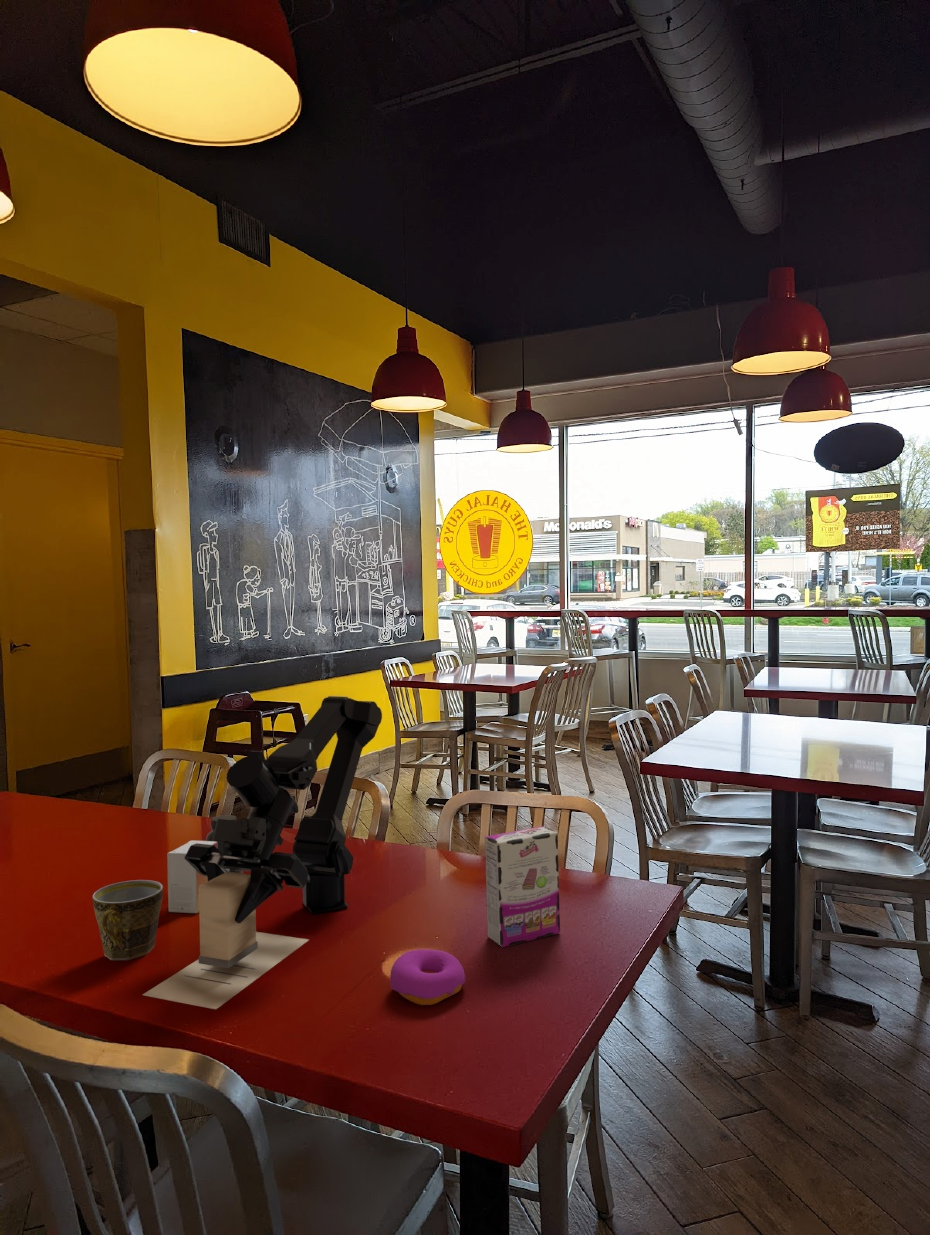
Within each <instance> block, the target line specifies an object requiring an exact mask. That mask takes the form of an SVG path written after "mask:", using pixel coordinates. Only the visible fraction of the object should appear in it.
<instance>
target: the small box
mask: <svg viewBox="0 0 930 1235" xmlns="http://www.w3.org/2000/svg"><path fill="white" fill-rule="evenodd" d="M196 843H198V844H208V845H215V847H216V848H217V849H218V842H214V841H206V840H189V841H188V842H186V843H185V844H183V845H180V846H178V847H177V848H175V849H173V850H172V851H169V852H167V856H166V857H167V898H168V899H167V900H168V901H167V903H168V904H167V905H168V906H167V907H168V913H181V914H182V913H185V914H198V913H199V886H200V885H202V884H204V883H206V882H208V877H207V876H203V875H201V874H199V873H198V872H197V871H196V870H195V869H194V868H193V867H192V866H191V865H190V864H189V863H188V862H187V861H186V859H185V858H184V857H185V855H186V853H187V851H188V849H189V848H190V846H191V845H193V844H196Z"/></svg>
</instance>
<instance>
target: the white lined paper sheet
mask: <svg viewBox="0 0 930 1235" xmlns="http://www.w3.org/2000/svg"><path fill="white" fill-rule="evenodd" d="M256 941H257V942H258V948H257V949H256V950H254V951H253V952H251V953H250V954H249V955H247V956H246V957H244V958H243V959H241V960H240V961H238V962H237V963H235V964H234V965H233V966H231V967H230V968H223V967H217V966H211V965H205V964H200V963H199V958H198V959H196V960H195V961H194V962H193V961H192V963H190V964H189V965H187V966H186V967H184V968H183V969H181V970H179V971H178V972H176V973H174V974H173V975H171V976H170V977H168V978H167V979H165V980H163V981H162V982H160V983H159V984H157V985H156V986H154V987H152V988H151V989H149V990H148V991H146V992H144V993H143V994H142V996H144V997H145V996H146V997H150V998H153V999H154V998H155V999H160V1000H166V1001H170V1002H175V1003H182V1004H187V1005H191V1006H196V1007H202V1008H207V1009H211V1010H217V1009H219V1008H220V1007H222V1006H223V1005H224V1004H225V1003H227V1002H228V1001H230V1000H231V999H233V997H234V996H237V994H239V993H240V992H241V991H243V990H244V989H246V988H247V987H248V986H250V985H251V984H252V983H254V982H255V981H256V980H258V979H259V978H260V977H262V976H263V975H264V974H266V973H267V972H268V971H269V970H271V969H273V968H274V967H275V966H277V964H279V963H281V962H282V961H284V959H286V958H287V957H288V956H290V955H291V954H292V953H294V952H296V951H297V950H298V949H299V948H301V947H302V946H303V945H304V944H306V943H307V942H309V941H310V939H309V938H308V939H307V938H301V937H293V936H288V935H287V936H286V935H281V934H274V933H269V932H268V933H267V932H259V931H256Z"/></svg>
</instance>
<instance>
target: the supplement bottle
mask: <svg viewBox="0 0 930 1235" xmlns="http://www.w3.org/2000/svg"><path fill="white" fill-rule="evenodd" d="M217 819H226V820H236V821H238V819H237V816H236V815H233V814H223V815H221V814H220V815H217V816H213V817H212V818H211V819H210V824H211V825H210V829H211V831H210V832H208V834H207V835H206V837H205V841H212V839H213V835H214V831H215V827H216V823H217ZM214 842H215V841H214ZM216 842H218V850H219V851H220V852H221V853H222V854H223V855H230V856H231V852H230V851H227V850H226V849H225V848H224V845H225V843H223V842H220V841H216ZM229 872H236V873H243V871H242V870H233V869H230V870H229Z"/></svg>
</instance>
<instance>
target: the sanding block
mask: <svg viewBox="0 0 930 1235" xmlns="http://www.w3.org/2000/svg"><path fill="white" fill-rule="evenodd" d="M250 875H251V873H244V872H242V873H236V872H226V873H224V874H222V875H220V876H218V877H216V878H214V879H212V880H210V881H208V882H206V883H204V884H202V885H200V886H199V912H198V913H199V915H198V916H199V953H200V954H199V956H198V959H199V963H200V964H205V965H211V966H217V967H223V968H230V967H231V966H233V965H234V964H235V963H237V962H238V961H240V960H241V959H243V958H244V957H246V956H247V955H249V954H250V953H251V952H253V951H254V950H256V949H257V948H258V942H257V941H256V932H257V918H256V917H257V916H256V915H257V914H256V913H257V912H256V909H257V908H256V909H255V910H254V911H253V912H252V913H251V914H250V915H248V916H247V917H246V918H245V919H244V920H243V921H242V922H241V923H237V922H236V921H235V917H236V914H237V911H238V908H239V906H240V904H241V902H242V899H243V897H244V895H245V893H246V890H247V888H248V886H249V883H250Z"/></svg>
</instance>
